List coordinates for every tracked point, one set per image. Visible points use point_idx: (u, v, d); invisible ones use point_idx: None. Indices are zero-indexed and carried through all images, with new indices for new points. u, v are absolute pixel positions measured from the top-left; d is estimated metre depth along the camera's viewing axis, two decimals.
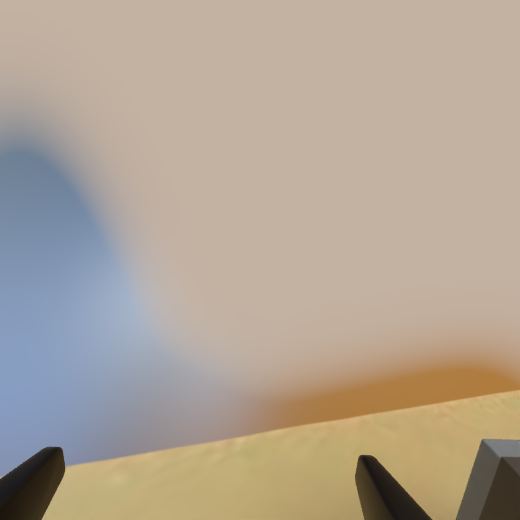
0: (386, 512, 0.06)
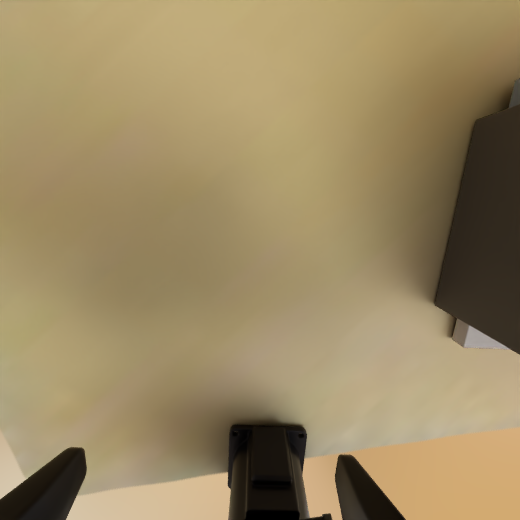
0: (360, 511, 0.06)
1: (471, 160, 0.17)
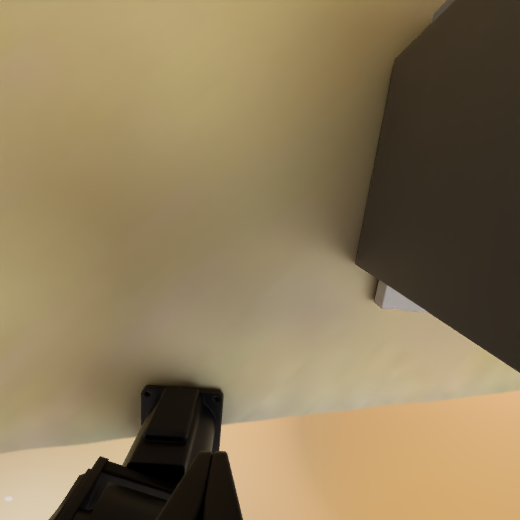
0: (203, 508, 0.06)
1: (388, 103, 0.16)
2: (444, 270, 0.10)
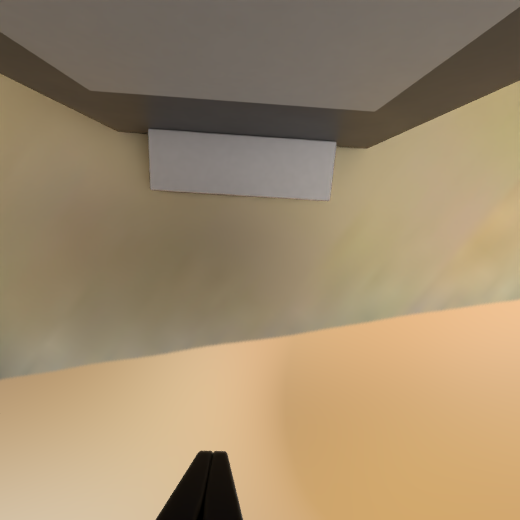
0: (203, 508, 0.06)
1: None
2: None
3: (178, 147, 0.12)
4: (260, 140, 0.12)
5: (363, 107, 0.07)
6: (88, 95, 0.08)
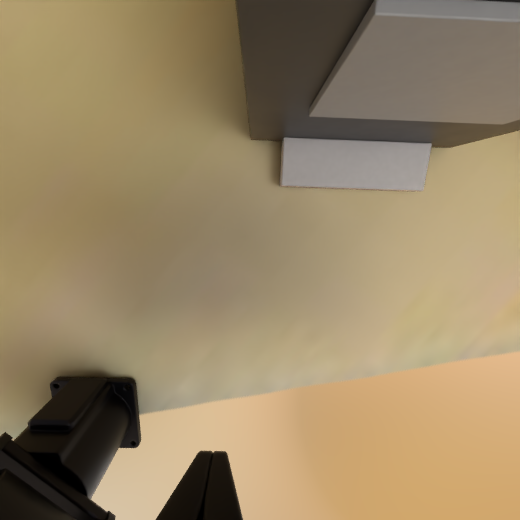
0: (203, 508, 0.06)
1: None
2: None
3: (306, 151, 0.15)
4: (371, 144, 0.15)
5: (498, 122, 0.10)
6: (284, 117, 0.12)
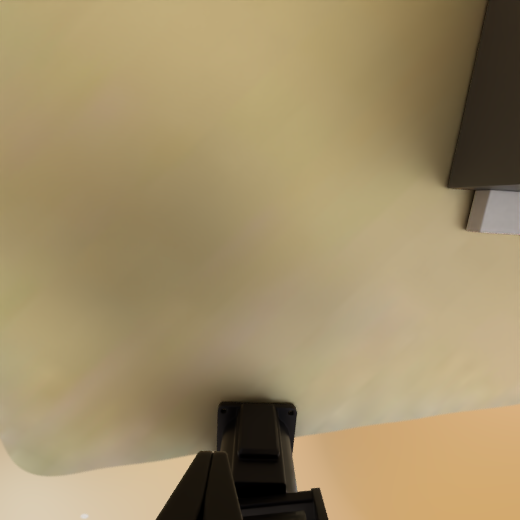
0: (203, 509, 0.06)
1: (493, 0, 0.15)
2: None
3: (508, 202, 0.17)
4: None
5: None
6: None
